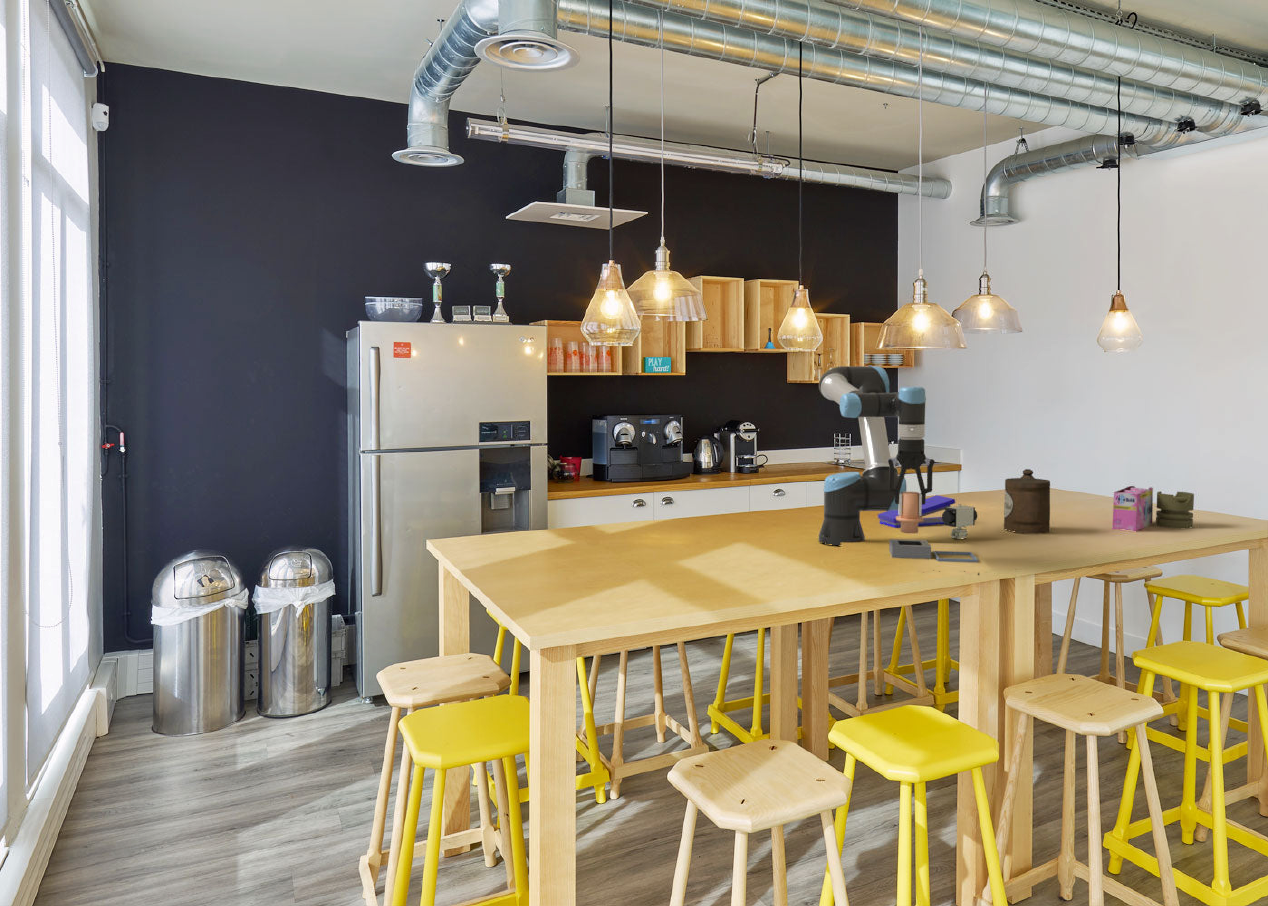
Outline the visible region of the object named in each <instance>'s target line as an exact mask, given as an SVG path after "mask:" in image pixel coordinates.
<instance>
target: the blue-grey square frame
mask: <svg viewBox="0 0 1268 906" xmlns="http://www.w3.org/2000/svg"><path fill="white" fill-rule="evenodd" d="M932 555H933V557H935V560H937V562H947V563H948V562H949V563H950V562H951V563H952V562H953V563H956V562H957V563H979V559H978V558H977V557H976V555H975V554H973V552H972V551H952V550H950V551H948V550H947V551H946V550H932ZM938 555H949V556H950V555H954V556H957V555H959V556H970V557H971V558H951V557H950V558H949V557H948V558H947V557H946V558H944V557H943V558H942V557H939V556H938Z"/></svg>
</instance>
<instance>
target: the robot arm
mask: <svg viewBox="0 0 1268 906" xmlns="http://www.w3.org/2000/svg"><path fill="white" fill-rule="evenodd" d="M886 371H887V370H885V369H884V368H883V367H881V366H876V365H875V366H873V365H867V366H862V365H861V366H857V365H854V366H851V365H849V366H846V365H845V366H843V365H842V366H841V365H840V366H837V367H833V368H831V369H828V370H827V371H826V372H824V373H823V374H822V375H821V377H820V379H819V382H818V390H819V392H820V394H821V395H822V396H823V397H824V398H825V399H827V400H829V401H834V402H835V403H837V404H838V405H839V411H840V415H841V416H842V417H844V418H852V419H856V418H858V424H859V432H860V438H861V445H862V451H863V459H864V465H865V470H863V472H862V474H861V473H860V472H859V471H845V472H838V473H833V474H830V475H828V476H827V477H826V478H825V479H824V486H823V492H824V493H823V505H824V506H823V511H824V512H823V521H822V524H821V528H820V530H819V533H818V542H819V541H820V542H822V543H826V544H832V545H841V546H842V543H856V542H857V543H859V542H865V541H866V535H865V532H864V530H863V527H862V523H861V520H860V519H861V518H860V515H861V512H876V511H877V512H886V511H892V510H898V514H899V515H902V492H907V480H906V478H905V475H906V472H907V470H915V471H914V472H915V473H916V478H917V481H918V486H919V489H920V490H919V491H920V492H918V493H919V511H918V515H919V516H921V510H922V505H925V500H926V499H927V498H926V496H927V494H928V493H932V492H933V467H934V464H935V463H936V462H935V460H934V459H933V458H929V457H926V454H925V440H924V439H923V438H925V433H926V432H925V428H926V426H925V425H926V421H925V420H926V400H927V397H926V389H925V388H924V387H922V386H901V387H900V388H899V391H898V392H897V391H895V392H890V379H889V375H888V373H887V372H886ZM885 418H898V424H897V425H898V427H897V429H898V430H897V431H898V434H897V435H898V437H899V438H898V440H897V454H896V456H895V457H892V458H891V451H890V446H889V439H888V434H887V427H886V422H885ZM896 462H898V464H899V465H900V467H901V468H900V472H899V471H898V468H897V467H895V465H896V464H897V463H896ZM924 462H925V466H927V467H926V470H927V471H926V472H927V473H926V486H925V483H924V479H923V474H922V471H921V466H922V465H923V463H924ZM925 487H926V488H925ZM820 542H819V543H820ZM822 543H821V544H822ZM826 544H825V545H826ZM832 545H831V546H832Z"/></svg>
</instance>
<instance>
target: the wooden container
mask: <svg viewBox="0 0 1268 906" xmlns="http://www.w3.org/2000/svg"><path fill="white" fill-rule="evenodd" d="M1033 474H1034V472H1033V470H1031V469H1029V468H1027V469H1025V468H1024V470H1023V471H1022V475H1021V477H1012V478H1010V477H1009V478H1006V479H1005V480H1004V487H1005V489H1004V507H1003V514H1004V515H1003V518H1004V519H1003V529H1004V530H1005V529H1007V530H1010V531H1015V532H1021V533H1020V534H1024V533H1043V534H1047V533H1046V532H1048V533H1050V530H1051V529H1050V526H1051V525H1050V524H1051V523H1050V522H1051V490H1050V489H1051V481H1050V480H1048V479H1043V478H1035V477H1034V476H1033ZM1010 531H1009V532H1010ZM1015 532H1014V533H1015Z"/></svg>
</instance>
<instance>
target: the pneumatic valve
mask: <svg viewBox="0 0 1268 906" xmlns="http://www.w3.org/2000/svg"><path fill="white" fill-rule="evenodd" d="M941 517H942V520H943V522H944V523H945V524H943V525H944V526H946V527H951V528H952V529H951V532H950V536H951V539H953V538H957V539H956V540H958V539H961V538H966V539H967V538H968V537H967V536H968V530H967V528H966V527H971V526H975V525H976V524H975V522H976V521H977V519H978V512H977V511H976V507H975V506H968V505H962V503H958V504H957V505H956V506H951V507H945V510H943V512H942V515H941ZM964 528H965V529H964Z"/></svg>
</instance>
